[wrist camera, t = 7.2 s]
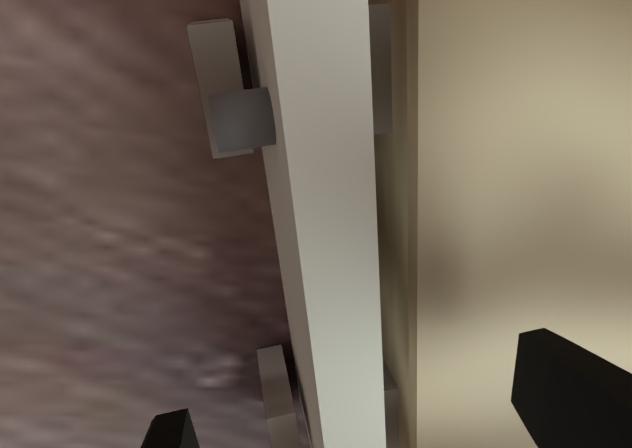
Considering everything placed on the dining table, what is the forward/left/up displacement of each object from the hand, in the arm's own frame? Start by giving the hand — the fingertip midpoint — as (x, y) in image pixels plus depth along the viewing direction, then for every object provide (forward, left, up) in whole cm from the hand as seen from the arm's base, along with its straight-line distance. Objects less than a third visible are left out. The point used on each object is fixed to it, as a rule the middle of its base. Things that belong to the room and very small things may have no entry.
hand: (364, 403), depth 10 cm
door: (0, 0, -8) cm, 8 cm away
